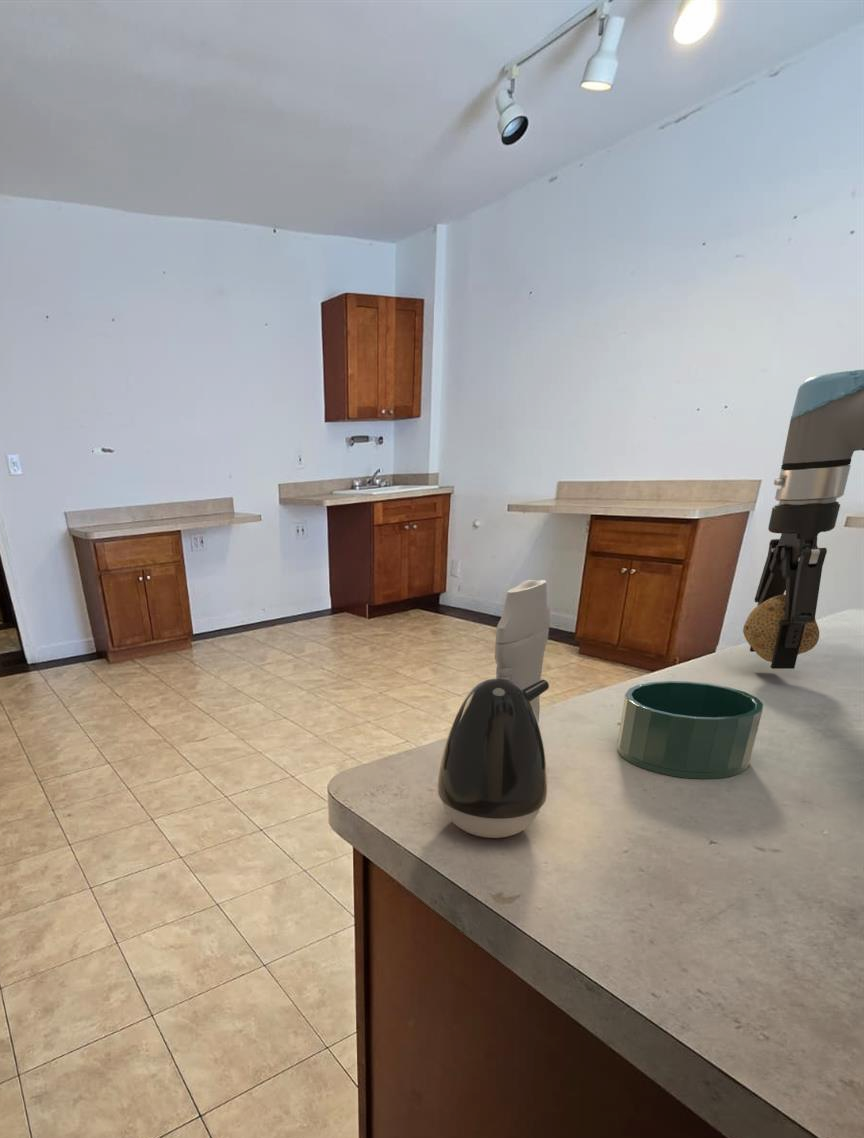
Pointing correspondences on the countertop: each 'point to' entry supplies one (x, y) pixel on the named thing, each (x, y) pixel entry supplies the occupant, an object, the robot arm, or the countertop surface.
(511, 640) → the plastic bottle
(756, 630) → the natural sponge
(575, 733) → the countertop surface
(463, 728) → the pump dispenser
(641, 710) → the crock
